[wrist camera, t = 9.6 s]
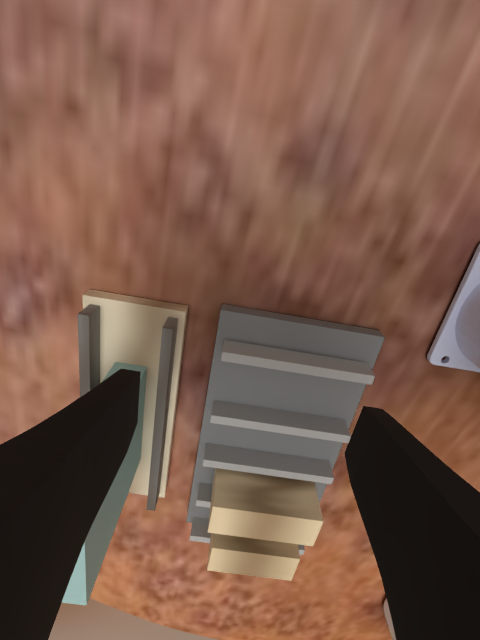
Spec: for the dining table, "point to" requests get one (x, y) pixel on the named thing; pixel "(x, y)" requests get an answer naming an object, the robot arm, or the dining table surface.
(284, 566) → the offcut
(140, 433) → the teal rectangular block
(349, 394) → the rack
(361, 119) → the dining table surface
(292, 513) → the block
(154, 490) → the holder
